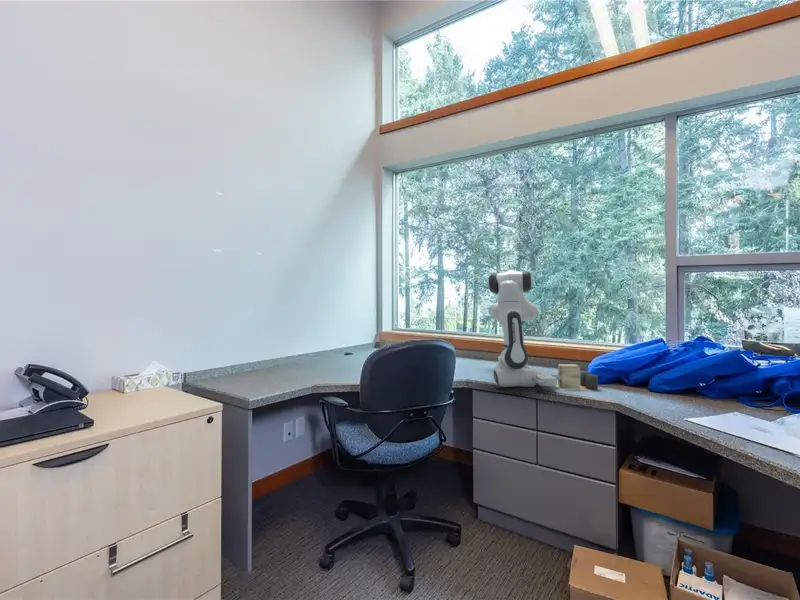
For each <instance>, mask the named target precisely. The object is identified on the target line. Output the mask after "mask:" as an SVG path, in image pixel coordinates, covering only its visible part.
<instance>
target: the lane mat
mask: <svg viewBox="0 0 800 600" xmlns="http://www.w3.org/2000/svg"><path fill="white" fill-rule="evenodd" d="M537 386H538V387H540V388H541V389H543V391H590V390H589V389H586V387H585V386H581V385H580V388H561V387H559V386H558V383H557V385H556V386H541V385H539V384H537ZM597 391H601V388H598V390H597Z"/></svg>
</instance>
